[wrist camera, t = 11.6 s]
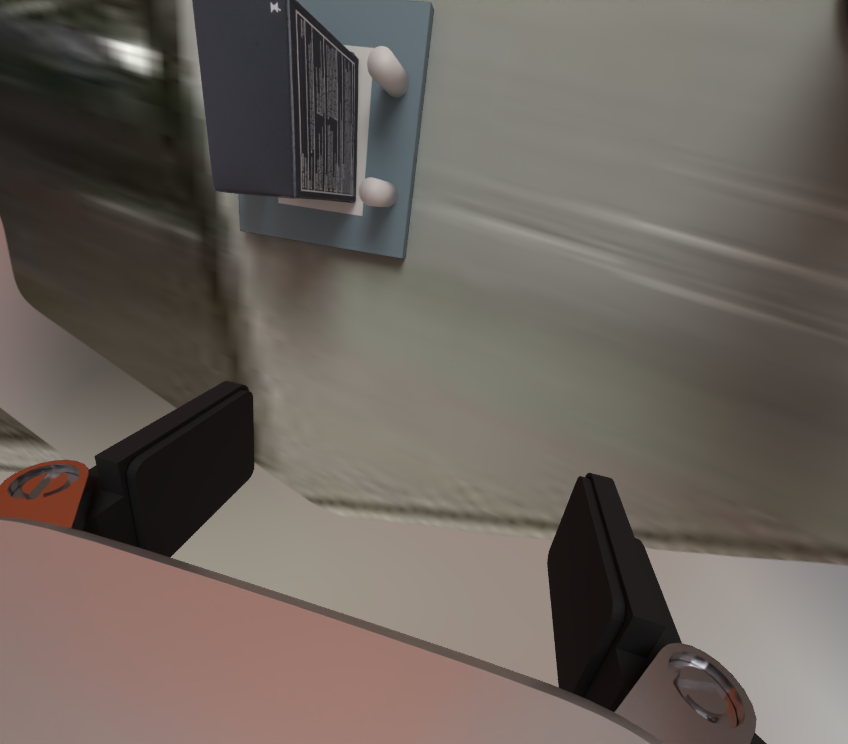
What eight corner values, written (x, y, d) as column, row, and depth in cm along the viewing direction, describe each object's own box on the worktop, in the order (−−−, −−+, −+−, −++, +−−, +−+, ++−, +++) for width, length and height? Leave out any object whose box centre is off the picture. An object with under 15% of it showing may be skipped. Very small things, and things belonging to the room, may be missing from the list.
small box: (282, 53, 31) (182, -19, 22) (360, 55, 30) (291, -19, 21) (288, 198, 35) (206, 191, 26) (357, 204, 34) (298, 199, 25)
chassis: (433, 9, 29) (419, -31, 25) (405, 257, 36) (389, 263, 32) (239, -6, 32) (191, -46, 27) (247, 230, 39) (210, 232, 34)
